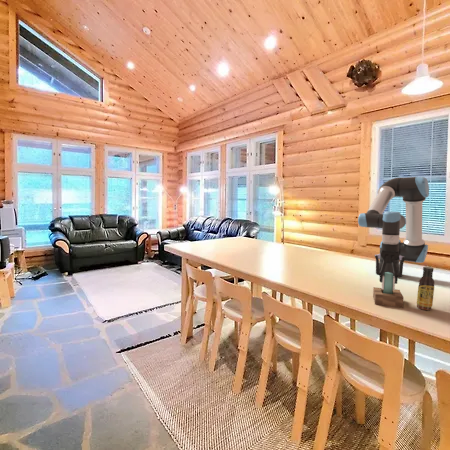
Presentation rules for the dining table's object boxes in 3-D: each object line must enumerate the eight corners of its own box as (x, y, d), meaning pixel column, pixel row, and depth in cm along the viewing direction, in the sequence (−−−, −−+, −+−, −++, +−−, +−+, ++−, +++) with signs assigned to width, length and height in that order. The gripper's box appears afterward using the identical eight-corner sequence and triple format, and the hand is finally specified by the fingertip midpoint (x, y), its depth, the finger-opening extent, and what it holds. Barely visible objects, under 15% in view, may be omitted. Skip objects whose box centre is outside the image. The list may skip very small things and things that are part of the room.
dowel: (382, 295, 155) (383, 272, 154) (391, 295, 154) (392, 272, 153) (383, 297, 152) (384, 274, 150) (392, 298, 150) (393, 274, 149)
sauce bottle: (418, 309, 142) (420, 268, 140) (415, 305, 148) (417, 265, 146) (434, 311, 140) (437, 269, 138) (430, 307, 146) (433, 266, 144)
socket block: (373, 296, 161) (373, 287, 160) (398, 299, 157) (399, 289, 156) (375, 304, 150) (375, 294, 149) (402, 307, 145) (403, 297, 145)
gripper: (371, 243, 150) (369, 289, 152) (411, 245, 143) (408, 293, 146) (370, 241, 157) (368, 285, 159) (408, 242, 150) (406, 288, 153)
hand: (387, 289), depth 152 cm, fingers closed on dowel, 4 cm apart
